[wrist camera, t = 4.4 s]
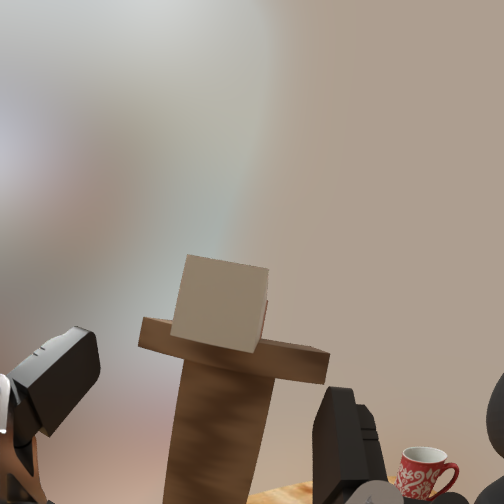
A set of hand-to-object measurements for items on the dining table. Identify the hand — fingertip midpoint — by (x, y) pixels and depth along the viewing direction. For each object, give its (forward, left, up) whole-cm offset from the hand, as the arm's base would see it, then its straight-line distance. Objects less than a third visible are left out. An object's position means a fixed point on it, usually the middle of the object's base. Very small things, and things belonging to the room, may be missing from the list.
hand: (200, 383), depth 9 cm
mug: (-36, -35, -31) cm, 59 cm away
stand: (0, -13, -31) cm, 33 cm away
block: (0, -10, +1) cm, 10 cm away
